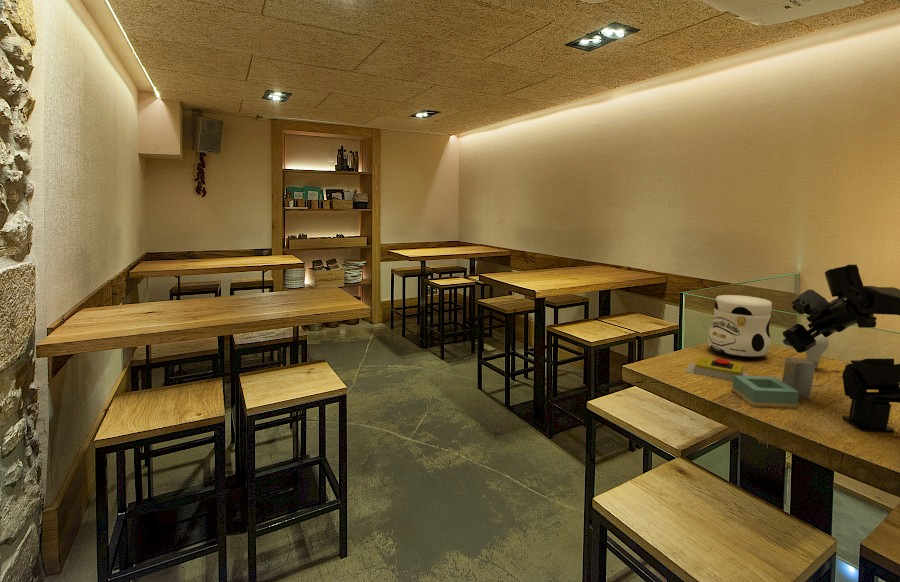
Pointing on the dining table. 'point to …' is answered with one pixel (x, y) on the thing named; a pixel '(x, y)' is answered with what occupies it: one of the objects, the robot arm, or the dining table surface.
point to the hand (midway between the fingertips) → (796, 334)
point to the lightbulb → (817, 349)
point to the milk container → (741, 326)
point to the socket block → (765, 391)
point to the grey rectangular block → (799, 375)
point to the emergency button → (717, 368)
